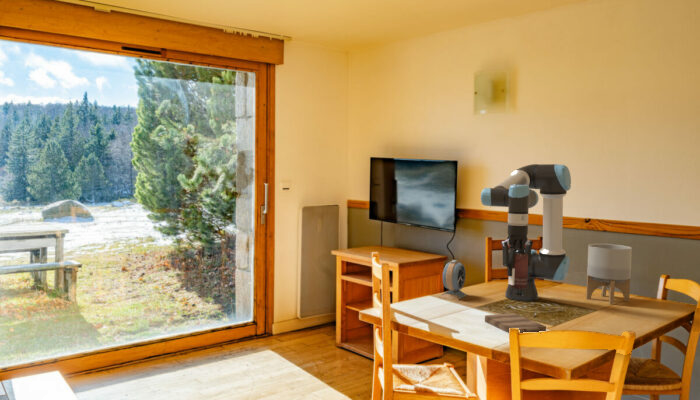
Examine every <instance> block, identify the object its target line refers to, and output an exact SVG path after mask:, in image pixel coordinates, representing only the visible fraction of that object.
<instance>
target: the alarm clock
mask: <svg viewBox="0 0 700 400" xmlns="http://www.w3.org/2000/svg"><path fill="white" fill-rule="evenodd" d="M466 274H467V273H466V268H465V265H464V264H463V263H462V262H460V261H459V260H458V259H452V260H451V261H449V262H448V263H446V264H445V266H444V268H443V271H442V283H443V287H444V288H446V289H447V290H448V291H446V292H444V293H442V294H441V295H440V296H439V298H441V297H445V298H444V299H448V298H452V299H451V300H454V299H458V300H457V301H459V299H460V300H461V298H462V299H464V298H465V297H467V296H468V294H467V293H465V292H463V291H462V288H463V287H464V285H465V282H466ZM466 295H467V296H466Z"/></svg>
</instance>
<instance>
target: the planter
mask: <svg viewBox="0 0 700 400" xmlns="http://www.w3.org/2000/svg"><path fill="white" fill-rule="evenodd" d="M632 250H633V247H631V246H627V245H621V244H614V243H613V244H611V243H590V244H588V247H587V268H586V270H587V271H586V274H587V276H586V290H585V291H586V296H585V297H586V300H592V295H593V293H594V291H596V290H597V289H598V288H600V287H601V297H607V289H608V303H609V305H611V306H612V305H613V306H614V303H615V288H617V289H618V290H620V292H621V293H622V296H623V300H624V301H623V302H627V303H629V302H630V289H631V275H632V274H631V272H632V252H633V251H632Z"/></svg>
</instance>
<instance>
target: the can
mask: <svg viewBox="0 0 700 400" xmlns="http://www.w3.org/2000/svg"><path fill="white" fill-rule="evenodd" d="M513 268H515V276H514V285H511V287H512V288H513V289H518V290H524V289H526V288H527V276H528V254H527V253H525V254H524V253H523V254H520V253H518V252H516V254H515V259H514V264H513Z"/></svg>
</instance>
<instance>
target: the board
mask: <svg viewBox="0 0 700 400" xmlns="http://www.w3.org/2000/svg"><path fill="white" fill-rule="evenodd" d="M484 322H485V323H487V324H489V325H491V326H493V327H495V328H497V329H499V330H502V331H503V332H505V333H507V332H508V333H507V334H509V328H519V330H520V333H523V332H539V331H546V332H547V326H546V325H544V324H541V323H539V322H536V321H534V320H532V319H529V318H527V317H525V316H522V315H520V314H518V313H514V312H512V313H511V312H510V313H499V314H487V315H484Z"/></svg>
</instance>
